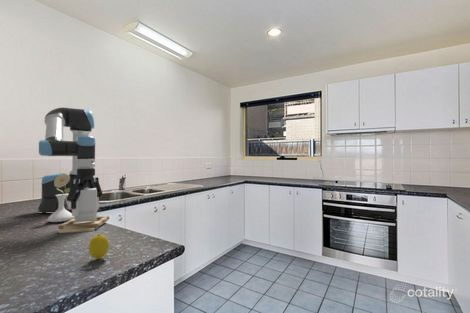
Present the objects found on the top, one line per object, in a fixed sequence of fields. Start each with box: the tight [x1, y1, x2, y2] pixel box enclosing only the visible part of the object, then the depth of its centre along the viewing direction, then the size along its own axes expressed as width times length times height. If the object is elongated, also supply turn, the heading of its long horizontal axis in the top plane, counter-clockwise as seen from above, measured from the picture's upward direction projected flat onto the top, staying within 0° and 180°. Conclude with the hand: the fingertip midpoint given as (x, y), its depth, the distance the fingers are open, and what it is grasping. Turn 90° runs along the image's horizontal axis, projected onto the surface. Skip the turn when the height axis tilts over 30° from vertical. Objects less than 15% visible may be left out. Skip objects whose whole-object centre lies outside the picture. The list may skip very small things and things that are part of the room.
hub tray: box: [57, 215, 110, 234], centre depth 115 cm, size 20×16×2 cm
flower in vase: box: [47, 172, 75, 223], centre depth 124 cm, size 13×11×25 cm
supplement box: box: [74, 188, 98, 223], centre depth 115 cm, size 9×9×15 cm
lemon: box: [88, 233, 110, 260], centre depth 76 cm, size 6×6×8 cm
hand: (85, 212), depth 115 cm, fingers closed on supplement box, 12 cm apart
